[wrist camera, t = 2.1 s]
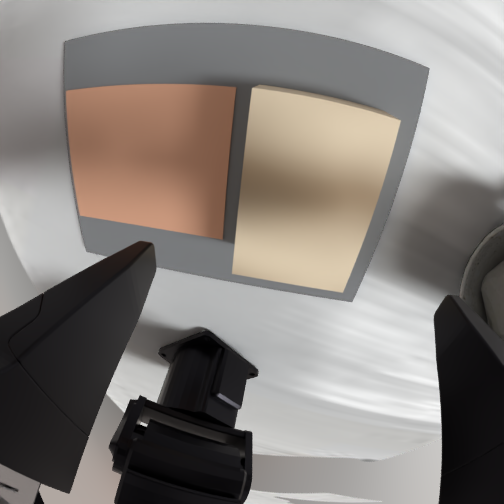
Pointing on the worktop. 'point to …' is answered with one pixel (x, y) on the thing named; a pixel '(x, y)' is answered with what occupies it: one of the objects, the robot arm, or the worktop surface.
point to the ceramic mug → (486, 281)
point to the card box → (309, 186)
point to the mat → (207, 133)
